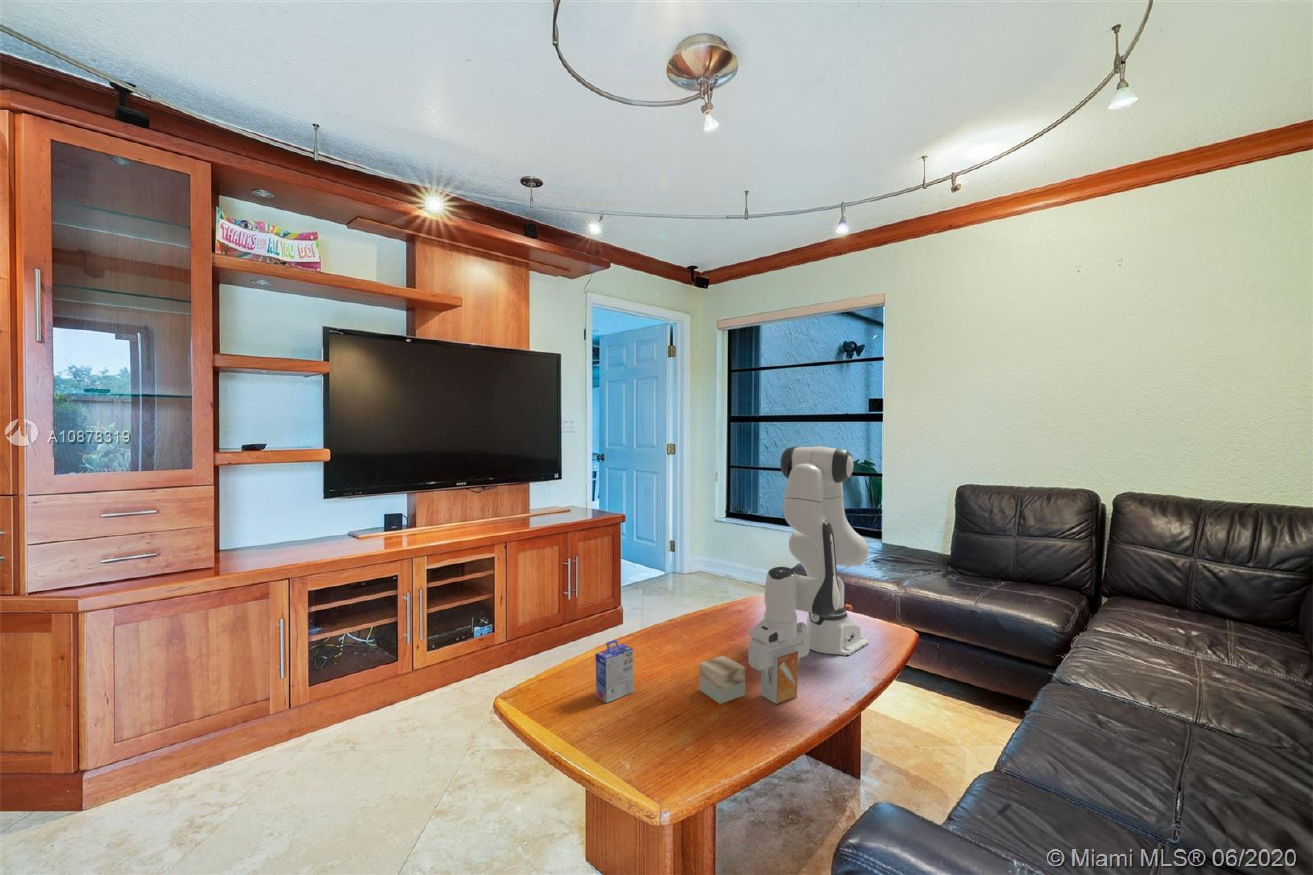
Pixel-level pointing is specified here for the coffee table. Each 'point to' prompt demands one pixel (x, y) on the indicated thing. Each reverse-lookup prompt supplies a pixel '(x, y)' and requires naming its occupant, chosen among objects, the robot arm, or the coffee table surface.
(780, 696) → the small box
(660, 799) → the coffee table surface
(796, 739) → the coffee table surface
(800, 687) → the coffee table surface
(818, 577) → the robot arm
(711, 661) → the tower top block
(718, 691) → the tower base block
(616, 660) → the ink cartridge box
